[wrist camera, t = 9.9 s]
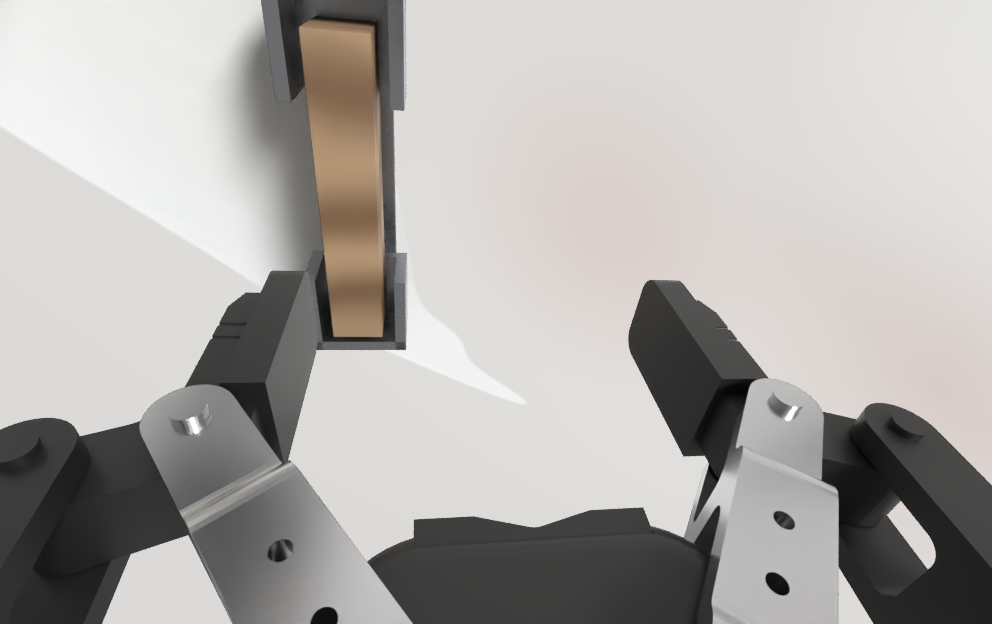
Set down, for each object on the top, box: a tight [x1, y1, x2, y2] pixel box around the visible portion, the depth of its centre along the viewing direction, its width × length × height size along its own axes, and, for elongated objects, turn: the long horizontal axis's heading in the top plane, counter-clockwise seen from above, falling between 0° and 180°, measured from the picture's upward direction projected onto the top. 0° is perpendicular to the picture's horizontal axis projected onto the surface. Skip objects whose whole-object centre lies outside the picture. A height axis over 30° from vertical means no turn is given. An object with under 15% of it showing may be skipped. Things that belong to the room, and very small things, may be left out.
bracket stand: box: [261, 0, 407, 350], centre depth 36 cm, size 25×7×9 cm, turn 174°
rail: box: [299, 16, 386, 337], centre depth 33 cm, size 20×4×5 cm, turn 174°
